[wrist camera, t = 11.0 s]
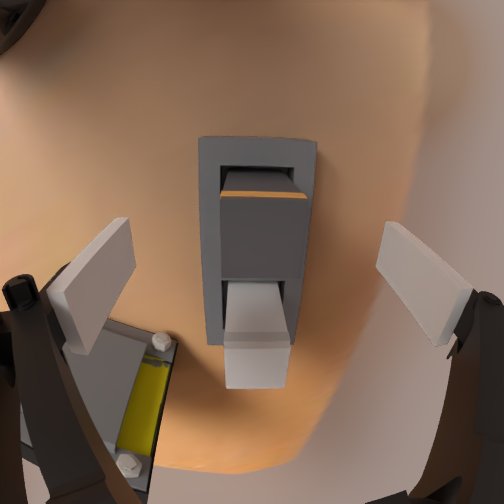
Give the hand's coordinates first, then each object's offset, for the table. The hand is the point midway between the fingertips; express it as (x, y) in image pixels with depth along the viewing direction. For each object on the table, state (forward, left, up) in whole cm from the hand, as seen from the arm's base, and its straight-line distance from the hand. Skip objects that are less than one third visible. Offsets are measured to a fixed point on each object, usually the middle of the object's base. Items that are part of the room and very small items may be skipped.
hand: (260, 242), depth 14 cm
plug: (0, 0, -12) cm, 12 cm away
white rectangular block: (+10, 0, -12) cm, 16 cm away
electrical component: (+19, -18, -14) cm, 30 cm away
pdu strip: (+5, 0, -13) cm, 14 cm away
